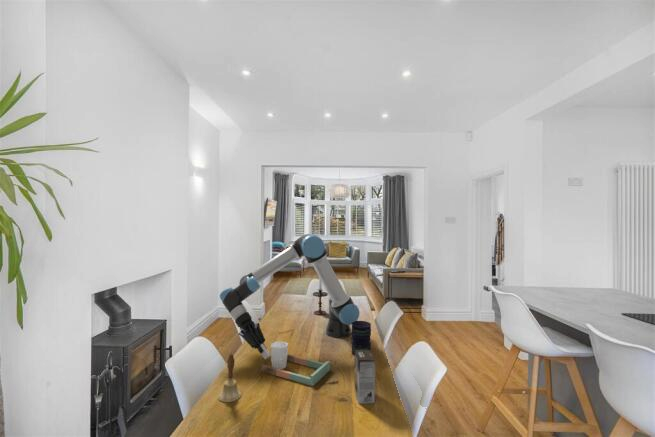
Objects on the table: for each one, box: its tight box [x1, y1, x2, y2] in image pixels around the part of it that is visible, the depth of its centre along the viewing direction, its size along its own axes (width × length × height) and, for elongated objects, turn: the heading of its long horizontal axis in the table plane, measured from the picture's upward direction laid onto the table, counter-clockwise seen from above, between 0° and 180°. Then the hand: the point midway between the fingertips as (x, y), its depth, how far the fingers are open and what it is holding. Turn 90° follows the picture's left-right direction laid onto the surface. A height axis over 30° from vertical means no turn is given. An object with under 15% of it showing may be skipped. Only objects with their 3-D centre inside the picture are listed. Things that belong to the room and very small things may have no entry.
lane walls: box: [261, 353, 296, 376], centre depth 143 cm, size 8×15×2 cm, turn 153°
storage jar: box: [351, 320, 372, 357], centre depth 158 cm, size 10×10×15 cm
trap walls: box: [275, 355, 308, 380], centre depth 139 cm, size 7×15×2 cm, turn 153°
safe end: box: [289, 358, 331, 387], centre depth 135 cm, size 11×15×4 cm
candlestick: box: [312, 277, 329, 316], centre depth 226 cm, size 11×11×35 cm
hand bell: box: [218, 353, 242, 403], centre depth 118 cm, size 8×8×16 cm
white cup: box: [270, 340, 289, 370], centre depth 143 cm, size 8×8×10 cm
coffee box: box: [354, 350, 376, 405], centre depth 119 cm, size 9×6×16 cm
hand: (267, 357), depth 145 cm, fingers closed
